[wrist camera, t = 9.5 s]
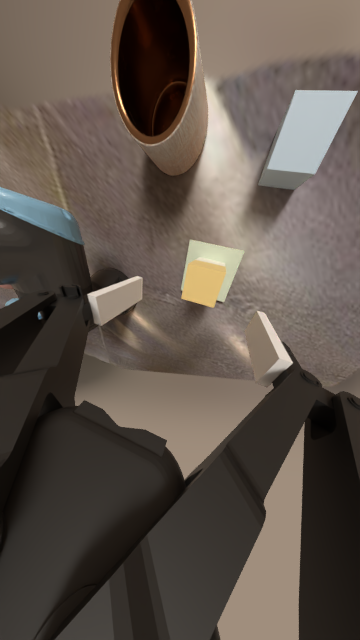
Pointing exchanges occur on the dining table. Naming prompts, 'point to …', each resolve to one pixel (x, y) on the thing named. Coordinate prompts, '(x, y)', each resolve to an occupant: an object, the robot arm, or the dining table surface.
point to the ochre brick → (203, 282)
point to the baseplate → (214, 255)
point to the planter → (160, 80)
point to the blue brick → (304, 136)
